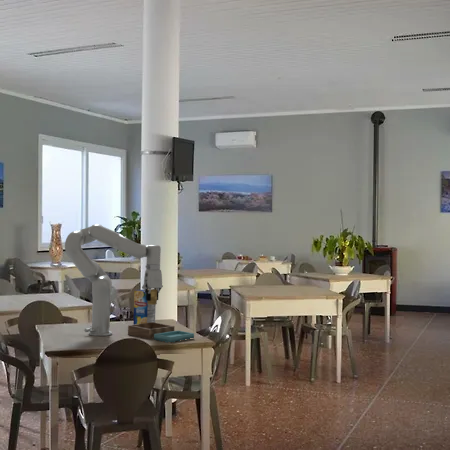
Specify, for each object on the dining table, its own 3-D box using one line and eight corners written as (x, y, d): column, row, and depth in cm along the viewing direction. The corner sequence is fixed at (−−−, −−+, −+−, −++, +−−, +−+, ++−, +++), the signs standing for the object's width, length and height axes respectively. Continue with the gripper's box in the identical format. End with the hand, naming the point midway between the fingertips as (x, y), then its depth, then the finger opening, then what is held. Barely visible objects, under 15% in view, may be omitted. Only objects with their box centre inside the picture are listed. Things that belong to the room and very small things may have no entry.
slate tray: (170, 343, 329) (170, 337, 329) (154, 339, 337) (154, 334, 337) (193, 338, 343) (194, 333, 343) (178, 335, 350) (178, 330, 350)
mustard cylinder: (151, 304, 348) (152, 290, 348) (145, 303, 351) (146, 289, 351) (158, 304, 352) (158, 289, 352) (152, 303, 355) (152, 288, 355)
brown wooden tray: (150, 338, 339) (150, 329, 339) (127, 334, 350) (128, 325, 350) (174, 335, 352) (174, 326, 352) (151, 330, 364) (152, 322, 364)
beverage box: (146, 330, 367) (147, 291, 367) (133, 327, 373) (134, 290, 373) (154, 328, 372) (156, 291, 372) (141, 326, 379) (142, 289, 379)
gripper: (146, 268, 342) (145, 302, 342) (169, 267, 355) (167, 299, 355) (137, 267, 347) (135, 300, 347) (159, 266, 360) (158, 298, 360)
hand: (152, 299), depth 351 cm, fingers closed on mustard cylinder, 5 cm apart
